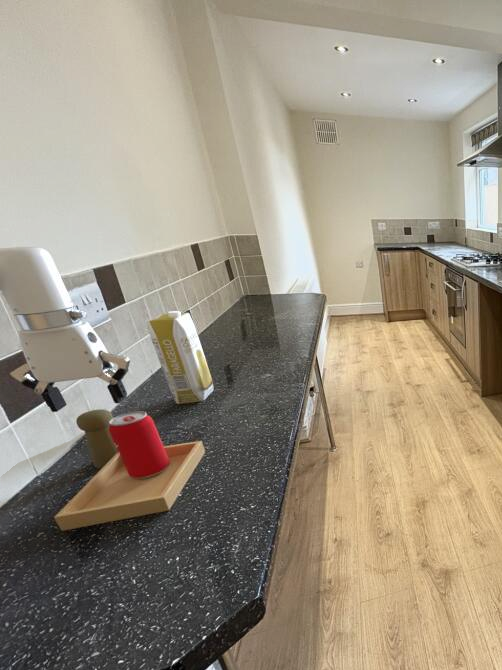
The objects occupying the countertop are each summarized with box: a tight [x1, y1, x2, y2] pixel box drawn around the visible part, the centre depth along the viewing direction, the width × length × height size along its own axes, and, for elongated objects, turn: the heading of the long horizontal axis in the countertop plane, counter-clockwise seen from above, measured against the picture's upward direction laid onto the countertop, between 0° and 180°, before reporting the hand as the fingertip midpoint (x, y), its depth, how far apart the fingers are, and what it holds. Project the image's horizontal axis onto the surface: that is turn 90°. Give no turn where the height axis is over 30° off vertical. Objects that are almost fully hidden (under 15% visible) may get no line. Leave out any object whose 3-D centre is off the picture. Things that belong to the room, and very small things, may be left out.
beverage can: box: [109, 410, 170, 479], centre depth 78 cm, size 6×6×12 cm
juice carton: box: [146, 310, 215, 405], centre depth 108 cm, size 9×8×24 cm
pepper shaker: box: [75, 408, 119, 469], centre depth 83 cm, size 6×6×11 cm
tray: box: [53, 440, 206, 532], centre depth 76 cm, size 15×20×3 cm
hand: (91, 404), depth 80 cm, fingers open, 9 cm apart
